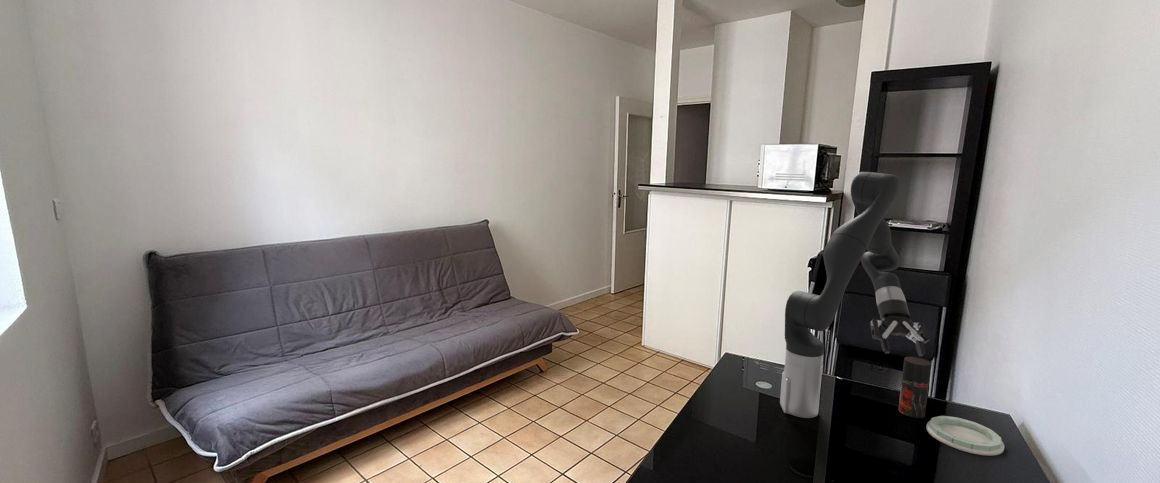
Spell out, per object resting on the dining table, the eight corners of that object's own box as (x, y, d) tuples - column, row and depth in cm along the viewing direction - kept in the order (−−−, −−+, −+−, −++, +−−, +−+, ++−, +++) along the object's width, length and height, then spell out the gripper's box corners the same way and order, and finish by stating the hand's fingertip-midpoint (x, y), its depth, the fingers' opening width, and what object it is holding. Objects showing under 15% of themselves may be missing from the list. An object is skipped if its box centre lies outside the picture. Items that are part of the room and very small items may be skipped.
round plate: (945, 450, 110) (946, 442, 110) (915, 418, 125) (916, 411, 124) (1019, 459, 107) (1021, 451, 107) (980, 425, 122) (981, 418, 121)
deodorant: (929, 419, 125) (935, 366, 122) (904, 416, 126) (910, 364, 124) (917, 408, 130) (924, 357, 128) (894, 406, 132) (900, 355, 129)
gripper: (870, 296, 141) (881, 346, 132) (923, 300, 138) (939, 350, 128) (862, 308, 147) (872, 357, 137) (912, 312, 144) (927, 361, 134)
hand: (904, 353), depth 133 cm, fingers open, 8 cm apart
